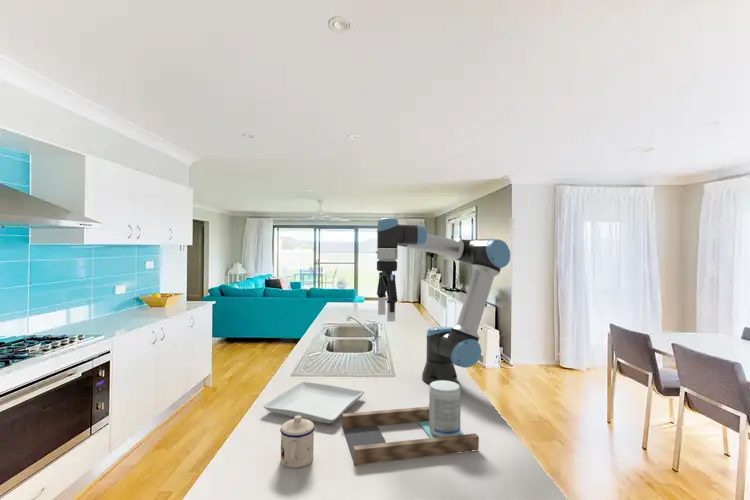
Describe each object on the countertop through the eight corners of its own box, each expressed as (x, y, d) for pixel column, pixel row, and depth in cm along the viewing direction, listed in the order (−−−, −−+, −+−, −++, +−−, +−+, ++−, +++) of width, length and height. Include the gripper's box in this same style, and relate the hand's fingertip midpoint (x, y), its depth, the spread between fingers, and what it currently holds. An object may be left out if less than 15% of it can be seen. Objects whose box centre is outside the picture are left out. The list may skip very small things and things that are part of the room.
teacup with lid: (283, 450, 108) (284, 409, 108) (316, 450, 108) (316, 409, 108) (273, 476, 96) (274, 429, 96) (310, 476, 96) (310, 429, 96)
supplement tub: (466, 434, 118) (467, 387, 118) (444, 442, 113) (444, 393, 113) (444, 422, 126) (445, 377, 126) (422, 429, 121) (423, 383, 121)
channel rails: (446, 416, 132) (446, 405, 132) (478, 450, 110) (478, 436, 110) (342, 426, 124) (342, 413, 123) (354, 464, 102) (354, 449, 102)
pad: (449, 420, 129) (449, 418, 129) (473, 445, 112) (473, 444, 112) (418, 423, 127) (418, 421, 127) (438, 449, 110) (438, 448, 110)
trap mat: (377, 426, 123) (377, 425, 123) (391, 455, 107) (391, 453, 107) (343, 430, 121) (343, 428, 121) (352, 459, 104) (352, 457, 104)
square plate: (333, 431, 121) (333, 419, 121) (260, 416, 130) (261, 405, 130) (365, 399, 146) (365, 389, 146) (302, 389, 156) (302, 380, 156)
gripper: (369, 259, 153) (369, 312, 153) (385, 261, 129) (384, 324, 129) (388, 259, 155) (387, 311, 155) (407, 261, 130) (406, 324, 130)
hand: (386, 317), depth 142 cm, fingers open, 13 cm apart
